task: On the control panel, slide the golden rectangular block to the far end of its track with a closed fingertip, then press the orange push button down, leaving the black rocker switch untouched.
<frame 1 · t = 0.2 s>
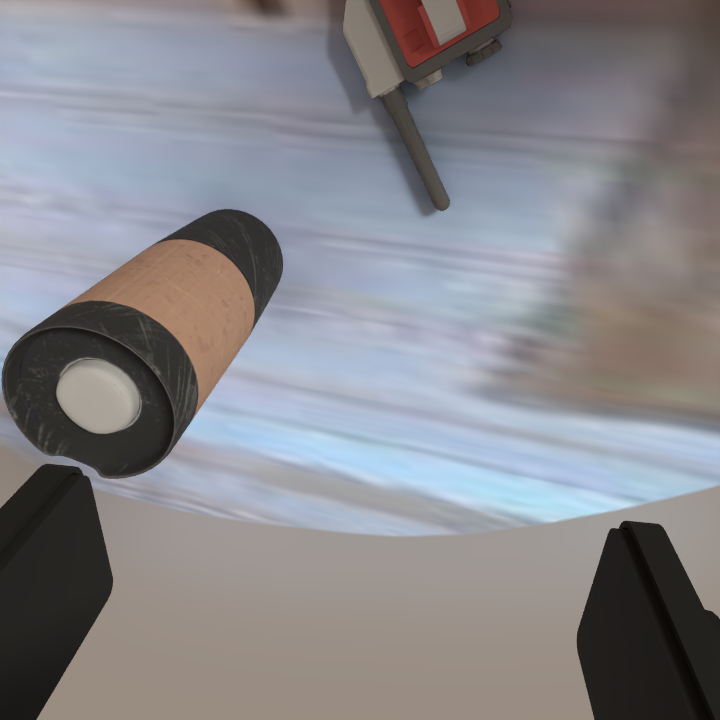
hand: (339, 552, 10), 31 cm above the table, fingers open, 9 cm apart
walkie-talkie: (424, 24, 34), on the table
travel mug: (235, 257, 41), on the table
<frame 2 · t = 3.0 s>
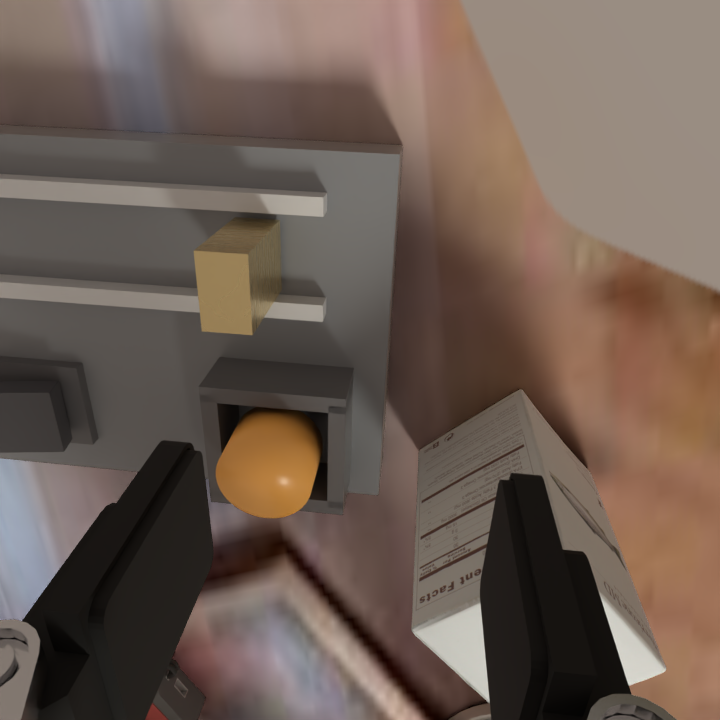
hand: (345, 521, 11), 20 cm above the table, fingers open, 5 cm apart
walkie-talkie: (100, 684, 49), on the table
black rocker: (10, 417, 30), point 5 cm above the table, hinge at -10.0°
orange button: (271, 460, 27), point 7 cm above the table, slide at 0.0 cm
panel: (162, 308, 31), on the table
golden rectangular block: (243, 272, 24), point 6 cm above the table, slide at 0.0 cm
supplement box: (502, 457, 34), on the table
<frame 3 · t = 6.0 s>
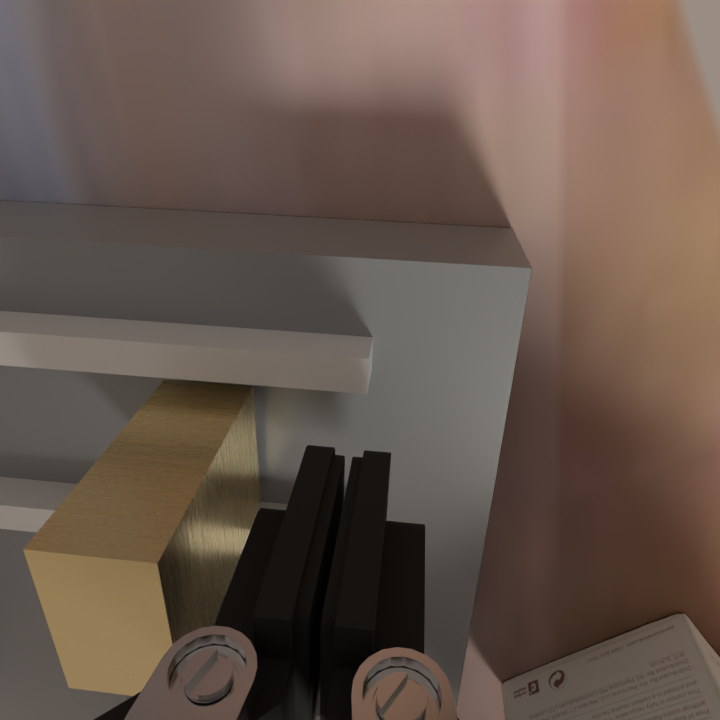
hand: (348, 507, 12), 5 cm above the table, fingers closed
panel: (84, 479, 19), on the table
golden rectangular block: (172, 518, 11), point 6 cm above the table, slide at 0.6 cm, touching gripper
supplement box: (635, 694, 21), on the table
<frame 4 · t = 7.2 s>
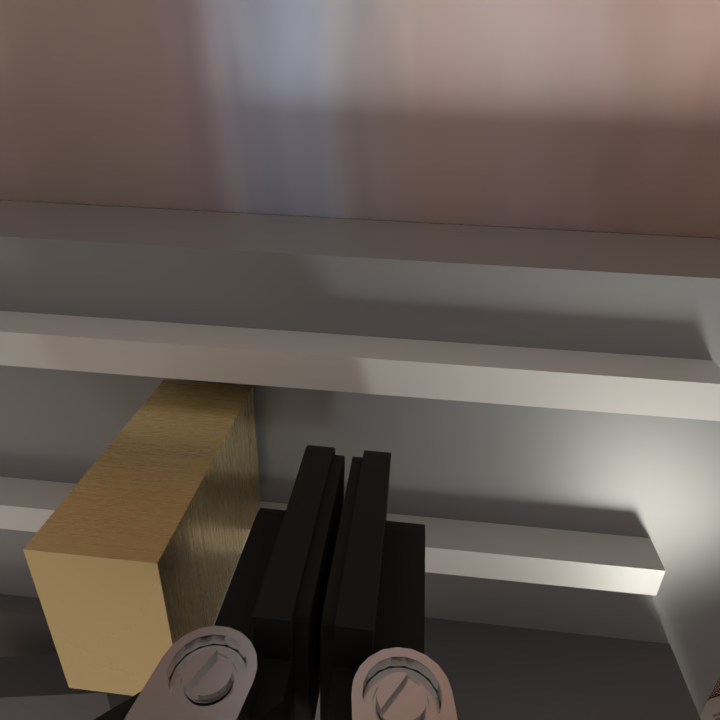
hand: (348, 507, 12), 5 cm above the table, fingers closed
black rocker: (34, 715, 17), point 5 cm above the table, hinge at -10.0°
panel: (289, 498, 18), on the table
golden rectangular block: (172, 518, 11), point 6 cm above the table, slide at 7.4 cm, touching gripper
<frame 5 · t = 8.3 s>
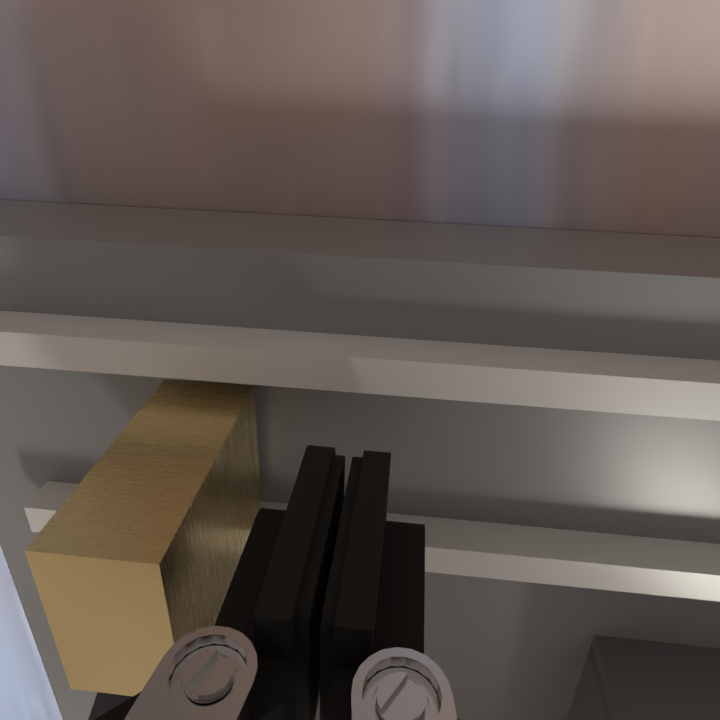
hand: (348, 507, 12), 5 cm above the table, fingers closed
panel: (442, 512, 18), on the table
golden rectangular block: (173, 518, 11), point 6 cm above the table, slide at 12.2 cm, touching gripper
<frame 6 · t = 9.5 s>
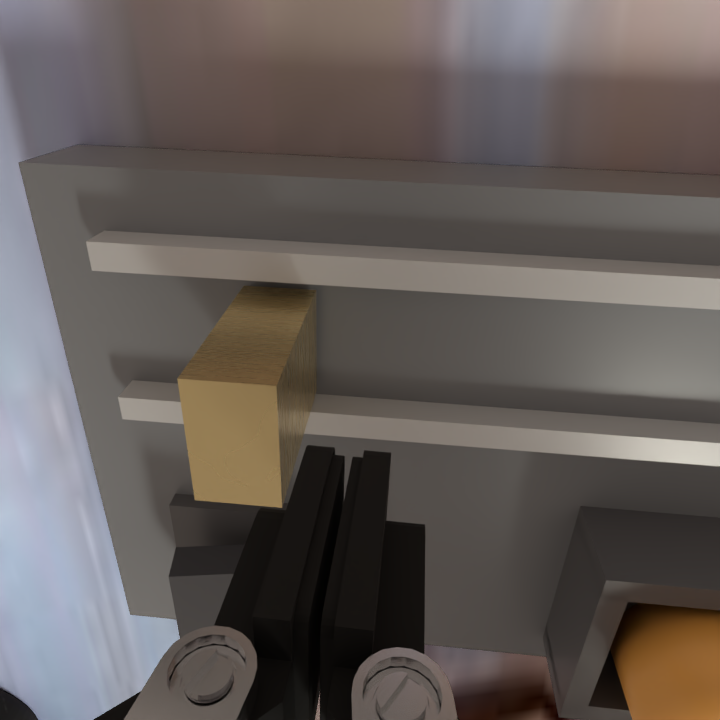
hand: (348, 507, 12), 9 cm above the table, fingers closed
black rocker: (254, 595, 20), point 5 cm above the table, hinge at -10.0°
orange button: (699, 681, 17), point 6 cm above the table, slide at 0.0 cm
panel: (454, 417, 21), on the table
golden rectangular block: (261, 385, 14), point 6 cm above the table, slide at 12.1 cm
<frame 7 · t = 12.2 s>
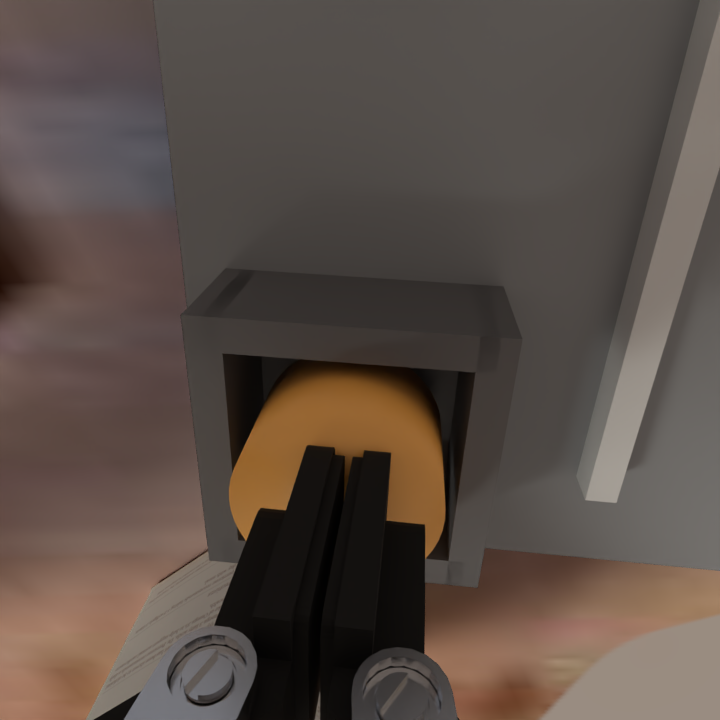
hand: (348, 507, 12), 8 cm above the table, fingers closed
orange button: (344, 464, 13), point 6 cm above the table, slide at 0.5 cm, touching gripper
panel: (557, 94, 15), on the table
supplement box: (273, 596, 24), on the table
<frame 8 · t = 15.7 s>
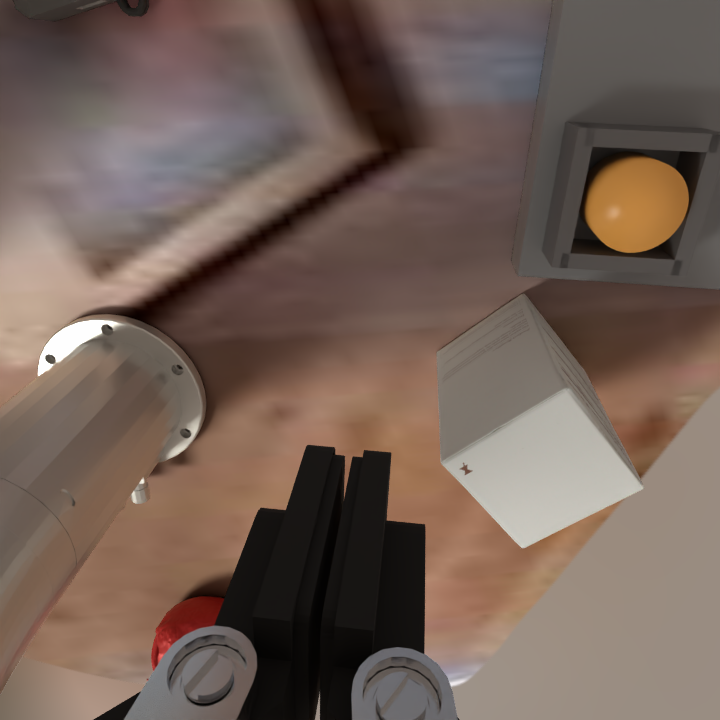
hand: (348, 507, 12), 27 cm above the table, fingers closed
orange button: (629, 201, 29), point 5 cm above the table, slide at 1.4 cm
supplement box: (509, 358, 40), on the table
pomegranate: (218, 616, 55), on the table
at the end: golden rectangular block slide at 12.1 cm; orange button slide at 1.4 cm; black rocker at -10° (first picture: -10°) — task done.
